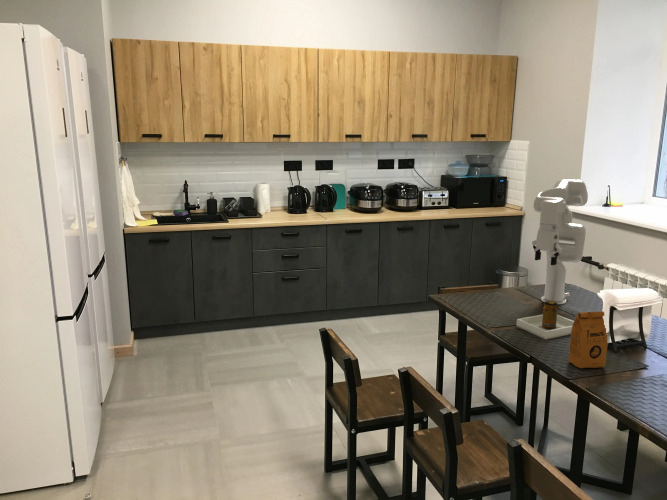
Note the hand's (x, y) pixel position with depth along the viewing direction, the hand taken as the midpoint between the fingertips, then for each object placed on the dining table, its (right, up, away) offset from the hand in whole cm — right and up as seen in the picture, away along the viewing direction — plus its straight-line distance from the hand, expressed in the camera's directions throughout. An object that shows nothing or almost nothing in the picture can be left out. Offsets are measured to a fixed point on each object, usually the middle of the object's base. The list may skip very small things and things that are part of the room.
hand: (545, 262), depth 267 cm
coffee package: (-1, -39, -46) cm, 60 cm away
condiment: (-1, -30, -7) cm, 31 cm away
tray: (-1, -30, -7) cm, 31 cm away
